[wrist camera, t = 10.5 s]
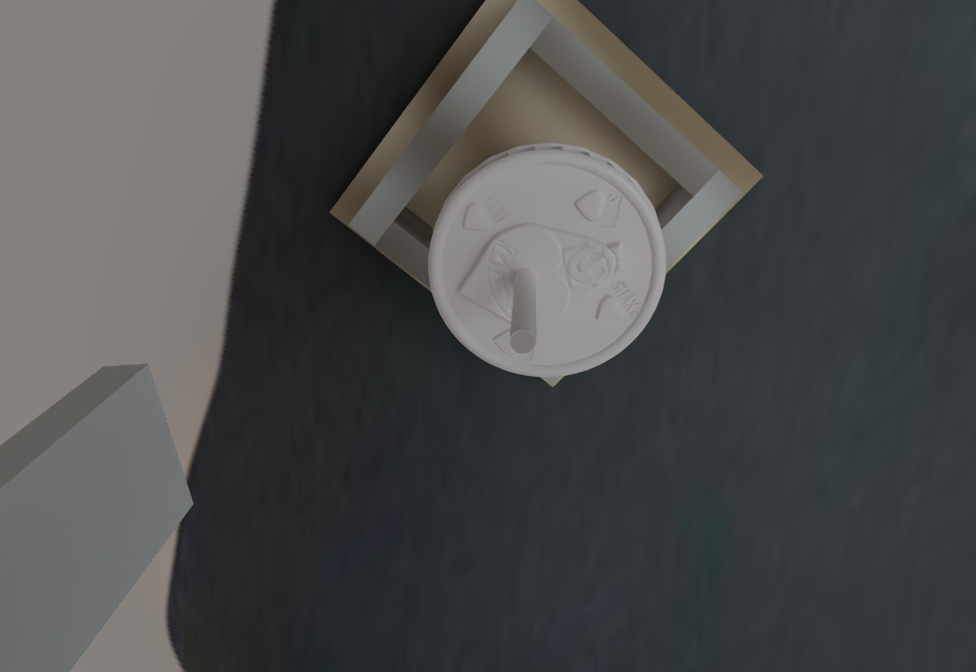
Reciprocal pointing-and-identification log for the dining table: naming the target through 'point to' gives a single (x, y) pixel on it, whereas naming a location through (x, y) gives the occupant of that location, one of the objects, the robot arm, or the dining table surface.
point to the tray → (541, 130)
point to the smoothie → (547, 260)
